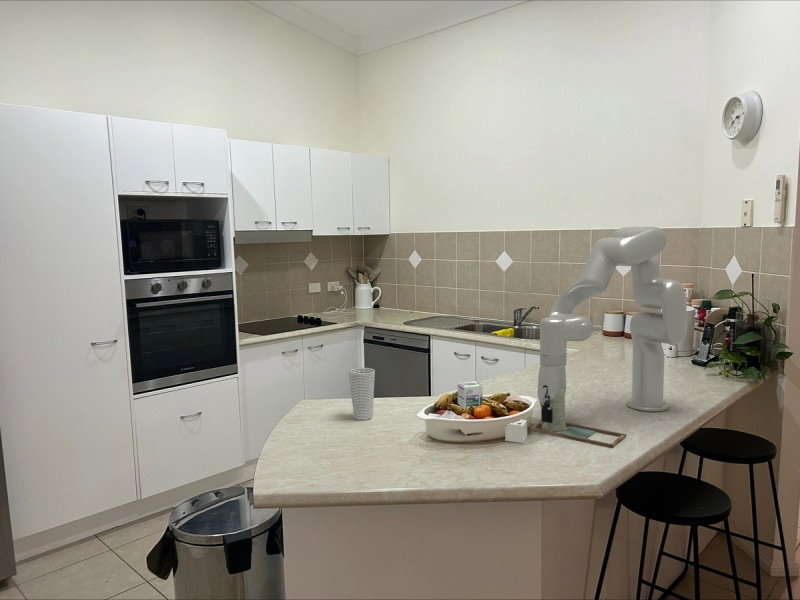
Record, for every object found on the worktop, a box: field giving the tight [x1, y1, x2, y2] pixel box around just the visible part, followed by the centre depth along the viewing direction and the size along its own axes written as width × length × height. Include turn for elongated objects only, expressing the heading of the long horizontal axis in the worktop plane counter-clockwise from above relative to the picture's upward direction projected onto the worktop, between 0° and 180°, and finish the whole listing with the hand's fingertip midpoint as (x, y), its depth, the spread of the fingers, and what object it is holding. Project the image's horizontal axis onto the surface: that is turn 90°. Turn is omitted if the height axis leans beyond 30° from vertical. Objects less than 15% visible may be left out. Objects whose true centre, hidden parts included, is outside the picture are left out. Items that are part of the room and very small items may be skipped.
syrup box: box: [456, 380, 484, 409], centre depth 170 cm, size 6×6×14 cm
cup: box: [348, 367, 376, 421], centre depth 186 cm, size 8×8×16 cm
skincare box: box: [540, 389, 566, 432], centre depth 171 cm, size 6×4×12 cm
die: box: [504, 419, 528, 444], centre depth 163 cm, size 5×5×5 cm
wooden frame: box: [530, 421, 627, 449], centre depth 167 cm, size 11×24×1 cm, turn 50°
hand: (552, 418), depth 171 cm, fingers closed on skincare box, 7 cm apart
